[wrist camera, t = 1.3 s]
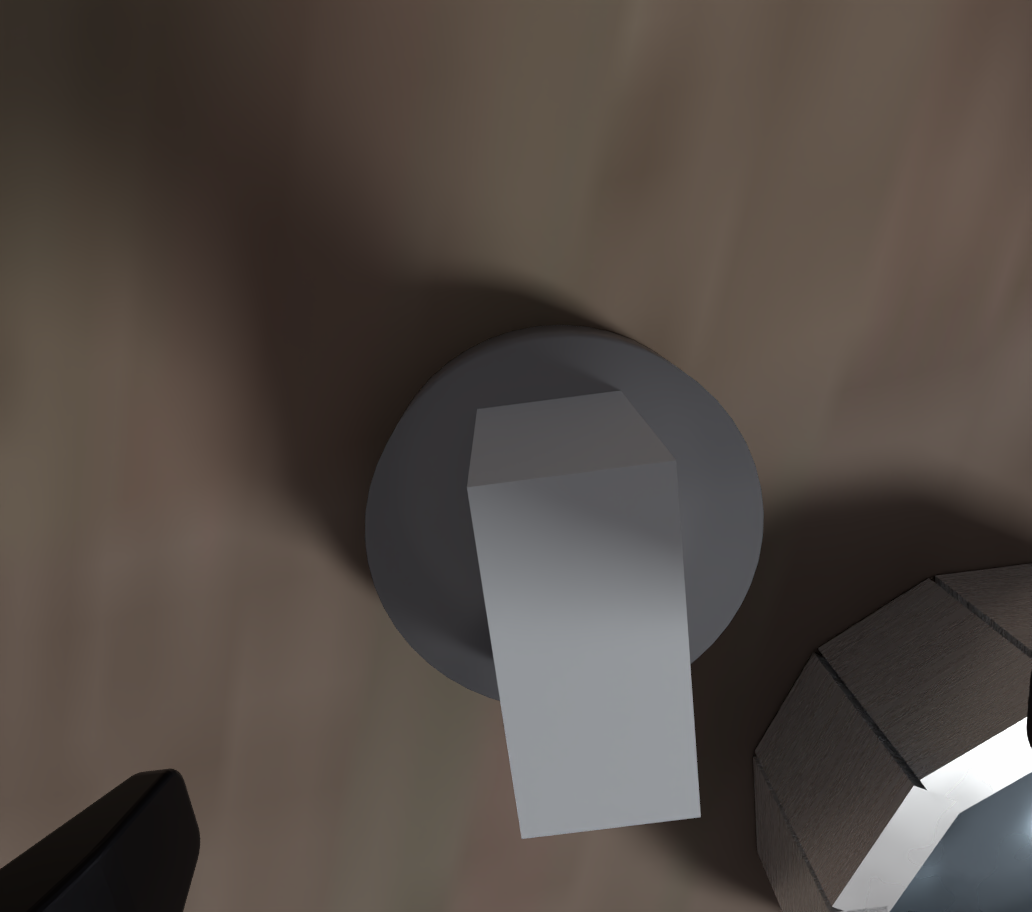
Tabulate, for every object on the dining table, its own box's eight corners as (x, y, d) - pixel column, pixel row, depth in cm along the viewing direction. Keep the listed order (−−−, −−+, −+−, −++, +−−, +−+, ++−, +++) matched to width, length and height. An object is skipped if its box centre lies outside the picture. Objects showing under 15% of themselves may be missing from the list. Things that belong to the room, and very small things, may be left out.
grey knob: (413, 670, 16) (365, 916, 10) (352, 350, 14) (247, 428, 8) (736, 630, 16) (873, 856, 10) (720, 301, 14) (879, 347, 8)
